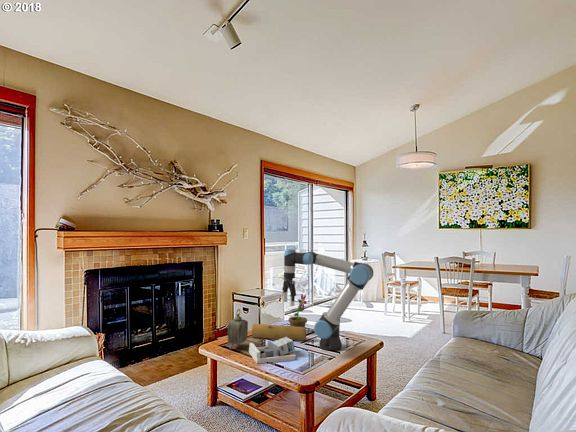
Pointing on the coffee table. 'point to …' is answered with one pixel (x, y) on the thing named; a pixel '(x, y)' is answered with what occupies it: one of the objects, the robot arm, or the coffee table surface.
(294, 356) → the open rectangular frame
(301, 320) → the flowerpot
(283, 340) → the light bulb box
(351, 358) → the coffee table surface
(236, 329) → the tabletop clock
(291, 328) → the log
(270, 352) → the pusher
